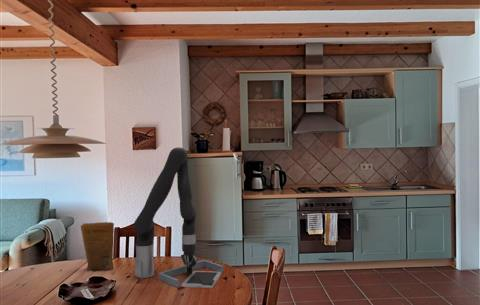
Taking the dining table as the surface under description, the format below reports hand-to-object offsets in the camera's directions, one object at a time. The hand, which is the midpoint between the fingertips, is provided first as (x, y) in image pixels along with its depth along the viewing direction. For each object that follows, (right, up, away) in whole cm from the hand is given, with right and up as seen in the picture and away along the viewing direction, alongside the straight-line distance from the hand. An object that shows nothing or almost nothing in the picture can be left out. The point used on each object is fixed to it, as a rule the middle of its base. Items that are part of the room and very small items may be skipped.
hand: (189, 273), depth 212 cm
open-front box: (+2, -1, -2) cm, 3 cm away
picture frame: (+8, -2, -9) cm, 12 cm away
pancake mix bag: (-54, -2, +12) cm, 56 cm away
